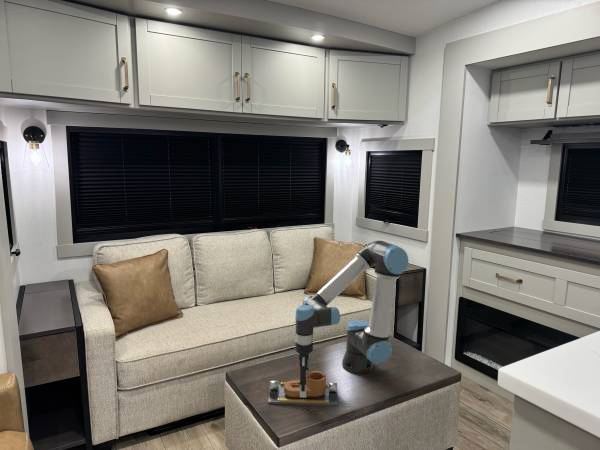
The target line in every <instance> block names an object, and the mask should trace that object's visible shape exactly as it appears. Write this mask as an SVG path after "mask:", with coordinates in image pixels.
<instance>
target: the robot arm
mask: <svg viewBox="0 0 600 450" xmlns="http://www.w3.org/2000/svg"><path fill="white" fill-rule="evenodd" d="M408 265H409V257H408V253H407V252H406V250H404V249H403V248H402V247H400V246H398V245H396V244H392V243H389V242H387V241H383V240H375V241H372V242H370V243H368V244H366V245H365V246H363V247H362V248H361V249H359V251H357V252H356V253H355V254H354V258H353V259H352V260H351V261H350V262H348V264H346V265H345V266H344V267H343V268H341V270H340V271H339V272H338V273H336V274H335V275H334V276H333V277H332V278H331V279H330V280H329V281H328V282H327V283H326V284H325V285H323V287H321V288H320V289H319V290H318V291H317V292H316V293H314V295H307V296H305V297H304V299H303V300H302V304H301V305H299V306H297V307H296V309H295V317H294V319H295V333H294V334H293V336H294V337H295V343H294V345H295V347H294V350H295V352H296V353H298V354H299V355H298V359H299V367H300V368H299V372H300V375H299V380H300V382H298V384H300V397H304V398H306V380H307V374H308V371H309V367H308V365H309V358H310V357H309V354H311V353H312V352H313V350H314V328H315V329H316V328H321V327H322V328H323V327H329V326H334V325H337V324H339V323H340V322H341V313H340V309H339V308H338V307H336V306H330V307H328V305H329V304H330V303H332V302H333V300H335V299H336V298H337V297H338V296H339V295H340V294H341V293H342V292H343V291H344V290H345V289H347V287H349V286H350V285H351V284H352V283H353V282H354V281H355V280H357V278H359V277H360V276H361V275H362V274H363V273H364V272H365V271H366V270H370V269H372V268H373V267H374V274H375V275H376V281H375V287H374V292H373V298H372V304H371V309H370V313H369V314H370V315H369V321H367V320H363V319H355V320H351V321H349V322H348V323H347V326H346V347H345V348H346V350H345V353H344V355H343V358H342V362H341V363H342V365H341V366H342V368H343V369H344V370H345V371H347V372H349V373H352V374H354V375H355V374H356V375H361V374H362V375H363V374H368V373H370V372H372V371H373V370H374V369H373V368H374V364H377V365H378V364H383V363H384V362H386V361H387V360H389V358H390V357H391V356H392V353H393V346H392V344H391V343H390V336H391V335H390V332H389V331H388V327H389V321H390V316H391V310H392V305H393V299H394V294H395V289H396V282H397V279H400V278H401V274H403V273H404V272H405V271H406V270H407V269H408Z"/></svg>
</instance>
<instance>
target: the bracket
mask: <svg viewBox="0 0 600 450" xmlns="http://www.w3.org/2000/svg"><path fill="white" fill-rule="evenodd" d="M326 376H327V375H326V373H324V372H323V371H319V370H313V371H309V372H307V380H306V397H310V396H321V395H323V394H325V392H326V384H327V383H326V382H327V377H326ZM298 382H300V379H293V380H288V381H286V382H284V383H285V384H284V393H285V394H286V395H287V396H290V397H300V384H298Z"/></svg>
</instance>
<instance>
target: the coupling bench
mask: <svg viewBox="0 0 600 450" xmlns="http://www.w3.org/2000/svg"><path fill="white" fill-rule="evenodd" d="M285 383H286V382H282V381H281V382H280V384H279V380H269V391H268V392H269V396H268V400H267V402H268V404H271V405H272V404H274V405H275V404H276V405H298V406H299V405H301V406H324V407H338V383H337V382H328V384H327V383H326V392H325V394H323V395H321V396H310V397H306V398H304V397H290V396H287V395H286V394H285V393H284V384H285Z"/></svg>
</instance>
